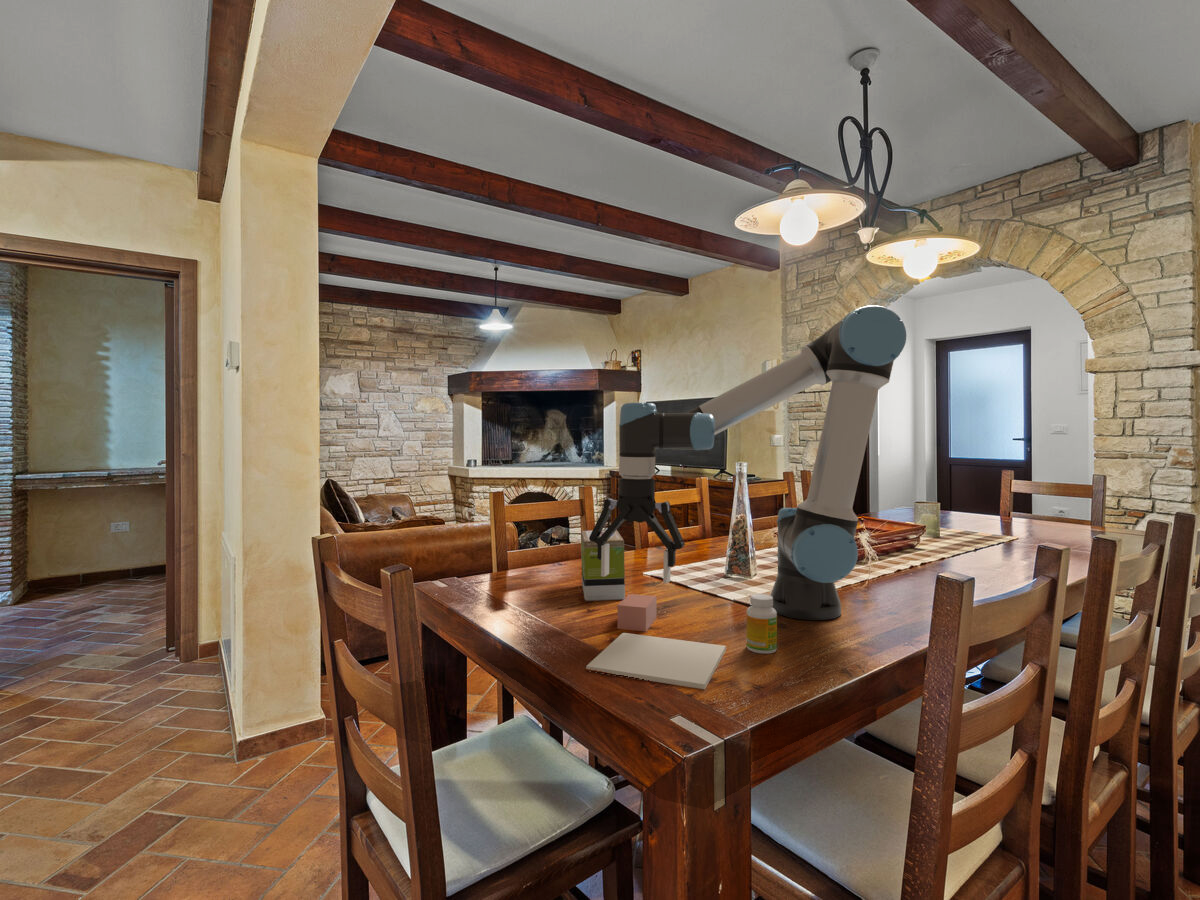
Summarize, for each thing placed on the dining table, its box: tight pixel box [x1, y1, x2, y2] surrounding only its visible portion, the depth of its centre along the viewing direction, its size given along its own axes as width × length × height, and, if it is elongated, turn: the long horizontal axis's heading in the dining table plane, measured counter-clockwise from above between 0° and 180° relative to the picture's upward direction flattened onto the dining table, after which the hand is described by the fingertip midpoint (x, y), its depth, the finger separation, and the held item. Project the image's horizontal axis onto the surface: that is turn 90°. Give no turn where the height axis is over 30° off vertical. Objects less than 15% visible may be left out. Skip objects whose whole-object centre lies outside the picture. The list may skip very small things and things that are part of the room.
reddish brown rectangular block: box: [616, 593, 657, 632], centre depth 124 cm, size 6×9×5 cm, turn 161°
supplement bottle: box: [746, 593, 778, 655], centre depth 109 cm, size 5×5×10 cm
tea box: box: [580, 529, 626, 602], centre depth 149 cm, size 15×10×15 cm
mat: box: [586, 632, 727, 690], centre depth 104 cm, size 20×18×1 cm
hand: (635, 578), depth 124 cm, fingers open, 13 cm apart
